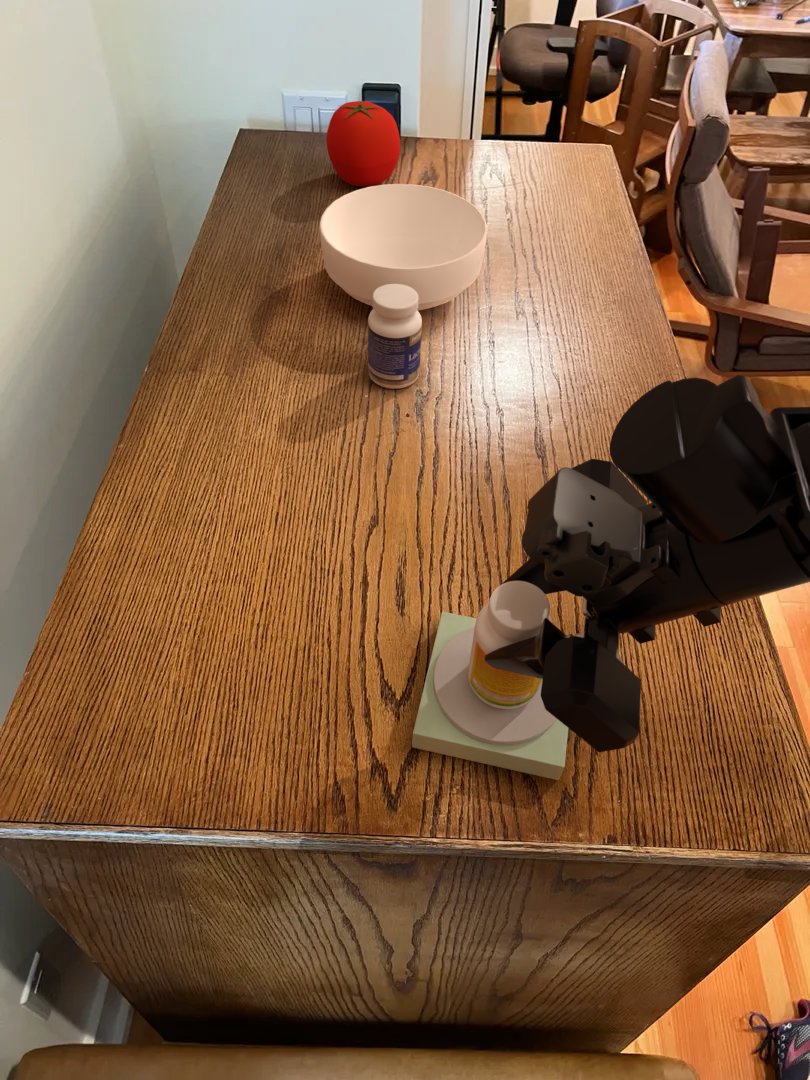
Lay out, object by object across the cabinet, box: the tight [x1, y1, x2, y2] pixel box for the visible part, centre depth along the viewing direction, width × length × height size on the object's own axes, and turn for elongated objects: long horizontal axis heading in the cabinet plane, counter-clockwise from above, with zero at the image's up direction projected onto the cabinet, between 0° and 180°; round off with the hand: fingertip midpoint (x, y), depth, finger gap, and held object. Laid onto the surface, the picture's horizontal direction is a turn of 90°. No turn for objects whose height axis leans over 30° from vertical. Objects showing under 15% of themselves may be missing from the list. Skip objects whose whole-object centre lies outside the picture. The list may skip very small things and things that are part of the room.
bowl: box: [319, 183, 488, 312], centre depth 93 cm, size 20×20×8 cm
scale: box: [411, 611, 572, 781], centre depth 59 cm, size 11×11×3 cm
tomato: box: [325, 100, 401, 187], centre depth 110 cm, size 10×11×11 cm
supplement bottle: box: [468, 581, 553, 709], centre depth 54 cm, size 5×5×10 cm
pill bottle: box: [367, 284, 423, 390], centre depth 82 cm, size 6×6×10 cm
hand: (494, 626), depth 53 cm, fingers closed on supplement bottle, 5 cm apart
